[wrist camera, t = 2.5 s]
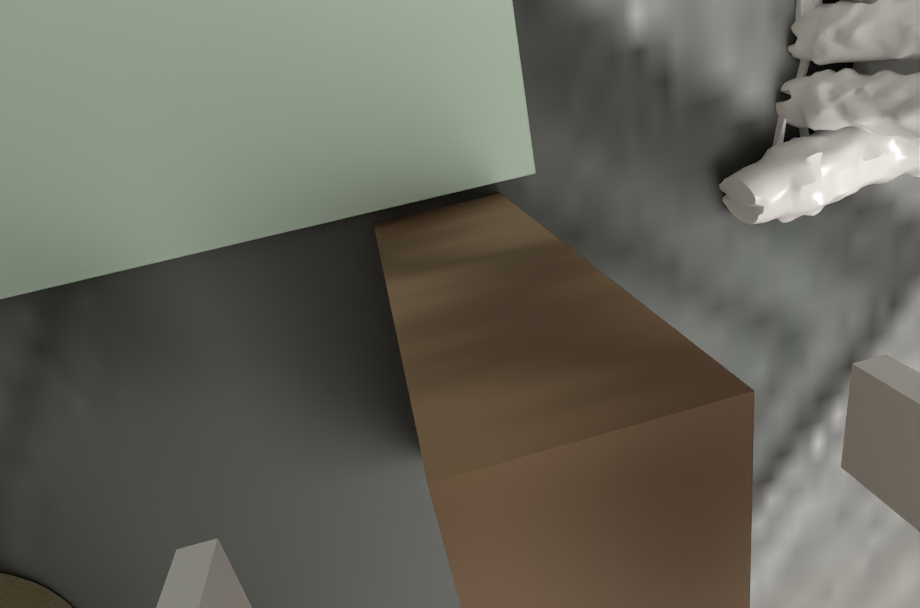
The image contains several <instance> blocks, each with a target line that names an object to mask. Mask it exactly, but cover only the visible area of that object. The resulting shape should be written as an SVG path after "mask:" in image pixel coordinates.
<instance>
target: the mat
mask: <svg viewBox="0 0 920 608" xmlns="http://www.w3.org/2000/svg"><path fill="white" fill-rule="evenodd" d="M535 173H536V172H535V165H534V158H533V150H532V143H531V136H530V128H529V121H528V114H527V106H526V99H525V91H524V84H523V77H522V69H521V62H520V55H519V47H518V40H517V33H516V25H515V18H514V11H513V3H512V0H0V299H4V298H8V297H12V296H16V295H21V294H25V293H29V292H33V291H38V290H42V289H46V288H50V287H55V286H59V285H63V284H67V283H72V282H76V281H80V280H84V279H89V278H93V277H97V276H101V275H106V274H110V273H114V272H118V271H123V270H127V269H131V268H135V267H140V266H144V265H148V264H152V263H157V262H161V261H165V260H169V259H174V258H178V257H182V256H186V255H191V254H195V253H199V252H203V251H208V250H212V249H216V248H220V247H225V246H229V245H233V244H237V243H242V242H246V241H250V240H254V239H259V238H263V237H267V236H271V235H276V234H280V233H284V232H288V231H293V230H297V229H301V228H305V227H310V226H314V225H318V224H322V223H327V222H331V221H335V220H339V219H344V218H348V217H352V216H356V215H361V214H365V213H369V212H373V211H378V210H382V209H386V208H390V207H395V206H399V205H403V204H407V203H412V202H416V201H420V200H424V199H429V198H433V197H437V196H441V195H446V194H450V193H454V192H458V191H463V190H467V189H471V188H475V187H480V186H484V185H488V184H492V183H497V182H501V181H505V180H509V179H514V178H518V177H522V176H526V175H531V174H535Z"/></svg>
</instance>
